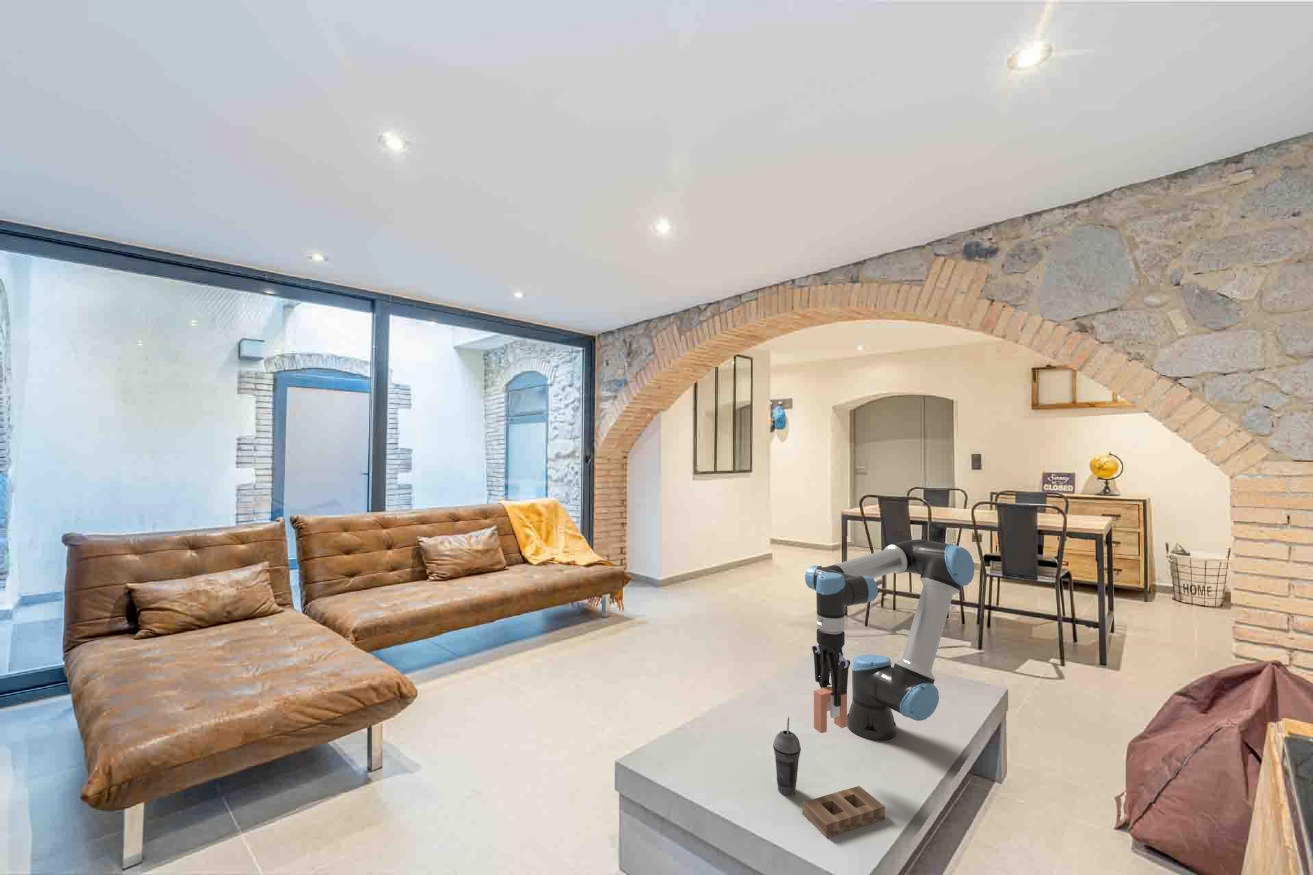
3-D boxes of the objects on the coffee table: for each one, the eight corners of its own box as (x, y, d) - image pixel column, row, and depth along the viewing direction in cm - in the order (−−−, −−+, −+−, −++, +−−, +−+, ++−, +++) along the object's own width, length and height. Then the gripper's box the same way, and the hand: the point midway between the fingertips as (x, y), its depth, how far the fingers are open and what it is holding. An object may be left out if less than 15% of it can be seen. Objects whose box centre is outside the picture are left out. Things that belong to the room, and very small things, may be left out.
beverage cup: (796, 781, 155) (796, 708, 155) (804, 798, 148) (804, 722, 148) (769, 782, 155) (770, 709, 155) (776, 799, 148) (777, 722, 148)
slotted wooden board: (859, 797, 149) (859, 785, 149) (884, 818, 140) (884, 806, 140) (802, 813, 142) (802, 801, 142) (826, 837, 134) (826, 824, 134)
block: (839, 721, 161) (839, 684, 161) (847, 726, 159) (847, 689, 159) (813, 727, 158) (813, 690, 158) (820, 733, 155) (820, 694, 155)
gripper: (801, 622, 164) (801, 703, 164) (839, 641, 149) (839, 730, 149) (822, 619, 167) (822, 698, 167) (861, 637, 152) (861, 724, 152)
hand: (830, 713), depth 158 cm, fingers closed on block, 3 cm apart
